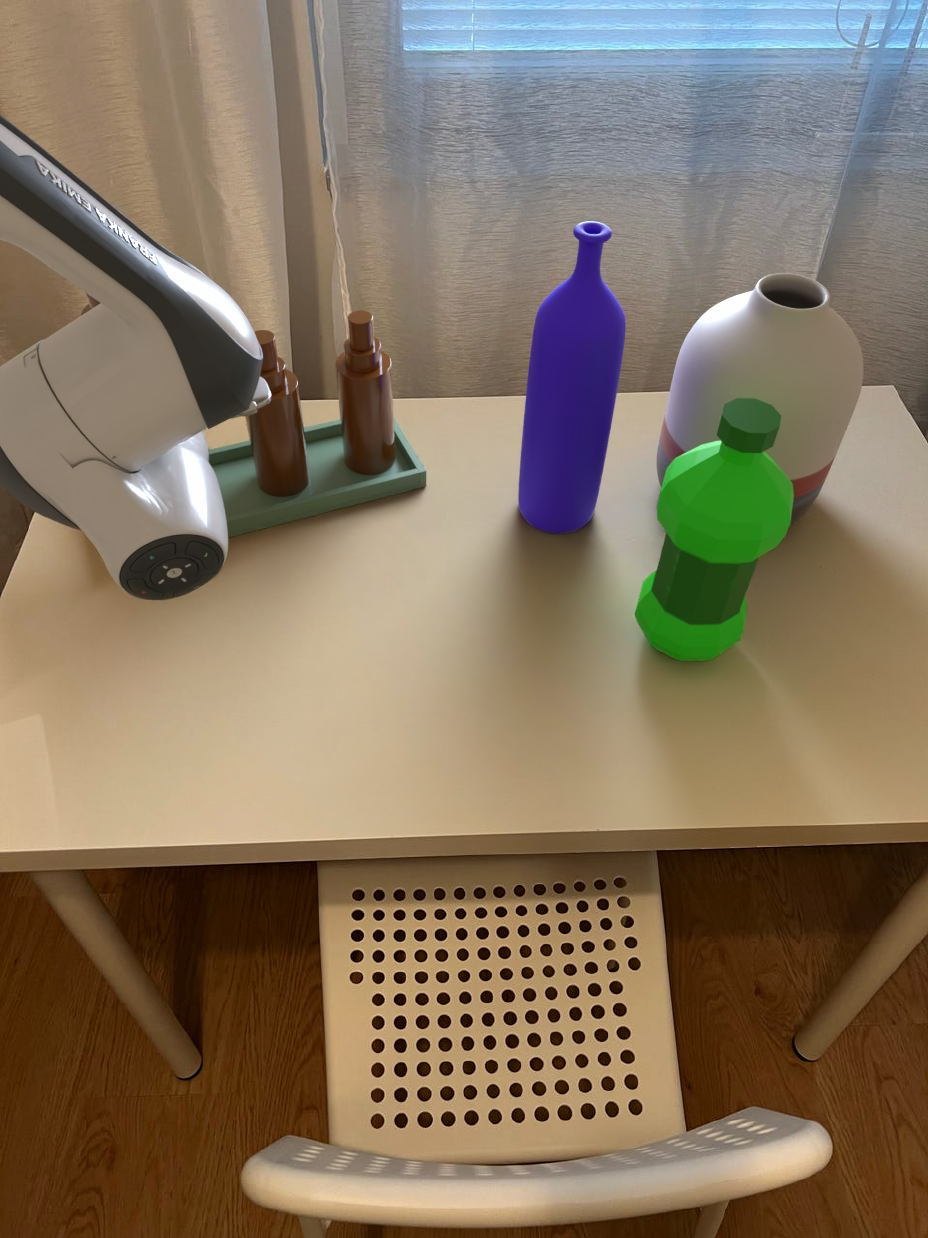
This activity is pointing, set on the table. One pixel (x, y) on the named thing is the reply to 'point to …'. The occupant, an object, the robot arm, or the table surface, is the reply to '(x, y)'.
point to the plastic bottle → (715, 534)
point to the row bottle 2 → (365, 399)
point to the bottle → (571, 393)
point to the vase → (769, 378)
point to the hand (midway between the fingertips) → (122, 337)
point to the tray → (327, 480)
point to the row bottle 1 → (278, 428)
